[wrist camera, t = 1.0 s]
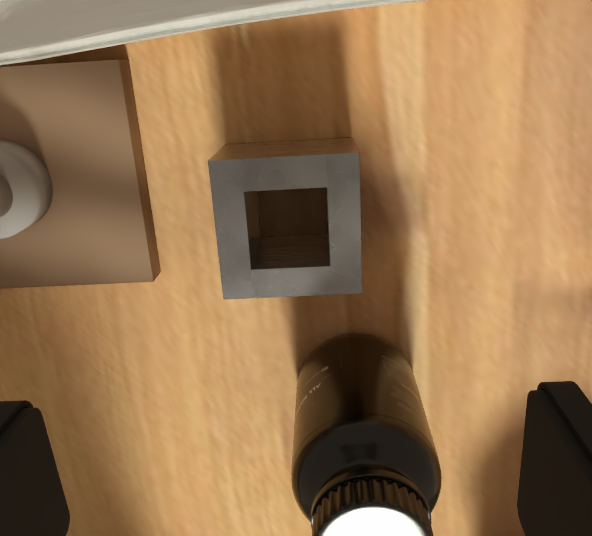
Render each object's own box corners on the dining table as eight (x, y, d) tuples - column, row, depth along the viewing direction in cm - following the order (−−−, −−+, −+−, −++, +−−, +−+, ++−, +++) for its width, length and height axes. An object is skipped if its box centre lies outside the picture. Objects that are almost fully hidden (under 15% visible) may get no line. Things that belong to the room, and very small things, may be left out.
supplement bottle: (287, 338, 32) (273, 487, 21) (407, 323, 32) (457, 467, 20) (306, 437, 35) (302, 619, 23) (417, 424, 34) (468, 604, 23)
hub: (354, 257, 30) (362, 293, 26) (237, 263, 31) (223, 299, 26) (352, 137, 28) (359, 152, 24) (225, 144, 29) (208, 160, 24)
